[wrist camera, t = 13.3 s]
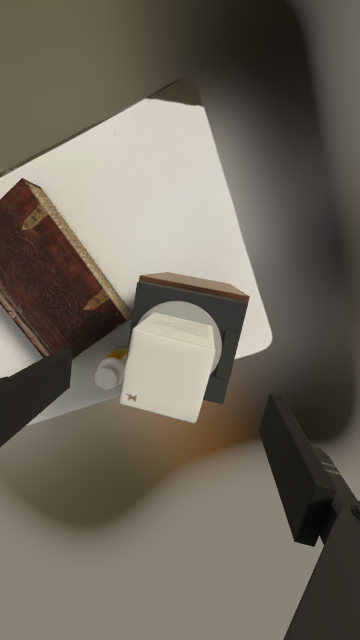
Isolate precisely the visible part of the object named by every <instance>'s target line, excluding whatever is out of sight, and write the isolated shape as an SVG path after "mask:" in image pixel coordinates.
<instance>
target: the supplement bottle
mask: <svg viewBox="0 0 360 640" xmlns="http://www.w3.org/2000/svg"><path fill="white" fill-rule="evenodd" d="M127 352H128V348H127V347H118V348H116V349H115V350H114V351H112V352H111V353H110V354H109V355H108V356H107V357H106V358H105V359H104V360H103V361H102V362H101V363H100V364H99V366H98V369H97V372H96V373H95V376H94V379H95V383H96V384H97V386H98V387H100V388H101V389H104V390H110V389H112V388H114V387H115V386H117V385H120V384H121V383H122V382H123V377H124V370H125V365H126V359H127Z"/></svg>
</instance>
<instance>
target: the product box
mask: <svg viewBox="0 0 360 640" xmlns="http://www.w3.org/2000/svg"><path fill="white" fill-rule="evenodd" d="M214 356H215V345H214V336H213V327H212V326H210V325H206V324H202V323H197V322H193V321H189V320H185V319H180V318H176V317H172V316H168V315H164V314H159V313H155V312H153V313H152V314H151V315H150V316H148V317H147V318H146V319H145V320H143V321H142V322H141V323H139V324H138V325H137V326H136V327H135V328H133V330H132V335H131V340H130V346H129V351H128V357H127V361H126V365H125V370H124V377H123V382H122V387H121V392H120V397H119V403H120V404H122V405H127V406H131V407H135V408H139V409H142V410H146V411H150V412H154V413H158V414H162V415H165V416H169V417H173V418H176V419H180V420H184V421H188V422H191V423H196V421H197V417H198V414H199V411H200V407H201V404H202V401H203V397H204V394H205V390H206V386H207V383H208V379H209V376H210V372H211V368H212V364H213V361H214Z"/></svg>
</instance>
